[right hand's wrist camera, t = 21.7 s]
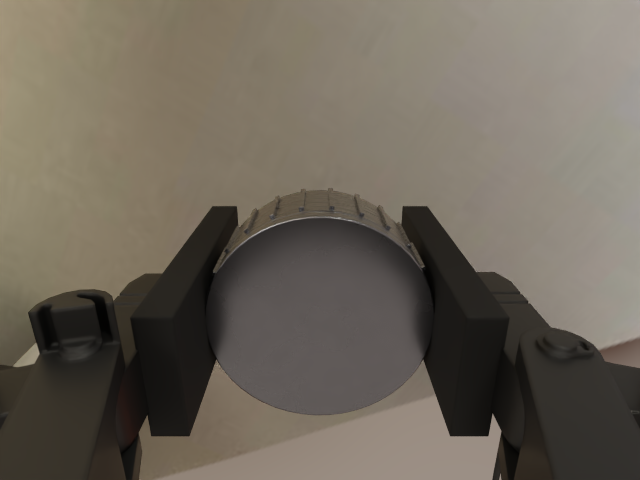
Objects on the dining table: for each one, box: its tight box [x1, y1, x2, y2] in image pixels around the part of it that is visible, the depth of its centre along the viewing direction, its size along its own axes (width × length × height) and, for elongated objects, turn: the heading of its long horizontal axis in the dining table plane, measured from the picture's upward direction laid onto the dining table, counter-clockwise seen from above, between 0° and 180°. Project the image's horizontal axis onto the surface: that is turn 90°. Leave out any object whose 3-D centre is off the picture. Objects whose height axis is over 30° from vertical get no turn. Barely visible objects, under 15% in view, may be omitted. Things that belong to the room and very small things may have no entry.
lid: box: [205, 188, 435, 415], centre depth 11 cm, size 5×5×2 cm
